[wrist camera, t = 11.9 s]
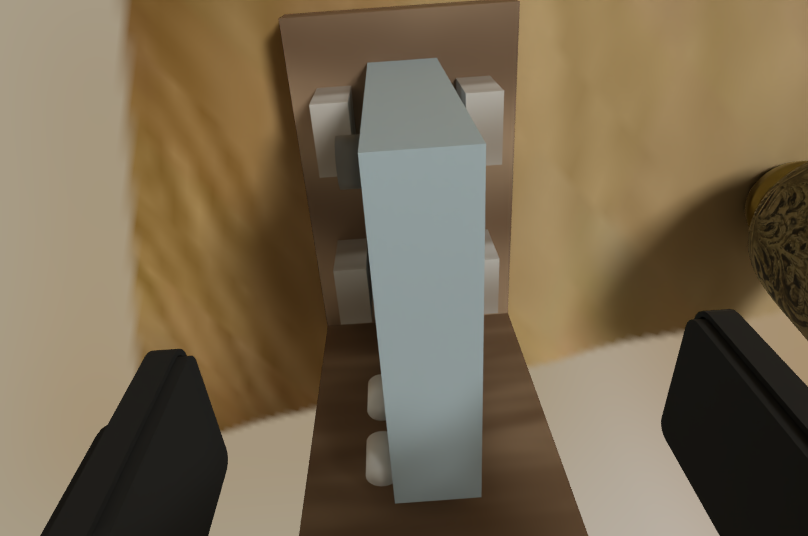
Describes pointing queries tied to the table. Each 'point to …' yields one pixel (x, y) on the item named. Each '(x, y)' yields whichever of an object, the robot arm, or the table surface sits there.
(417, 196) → the door
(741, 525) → the robot arm
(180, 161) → the table surface
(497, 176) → the cabinet base
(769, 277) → the cup
